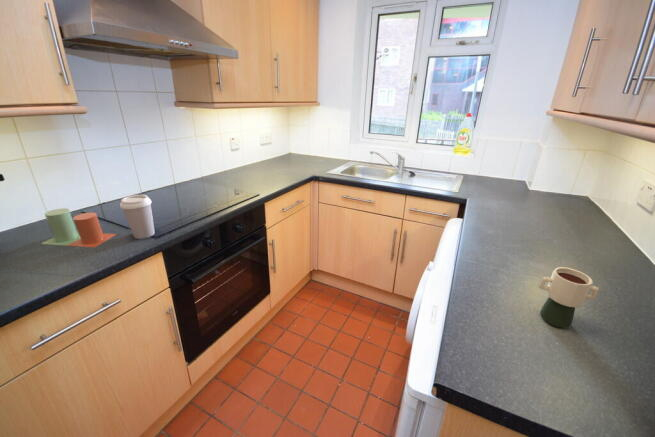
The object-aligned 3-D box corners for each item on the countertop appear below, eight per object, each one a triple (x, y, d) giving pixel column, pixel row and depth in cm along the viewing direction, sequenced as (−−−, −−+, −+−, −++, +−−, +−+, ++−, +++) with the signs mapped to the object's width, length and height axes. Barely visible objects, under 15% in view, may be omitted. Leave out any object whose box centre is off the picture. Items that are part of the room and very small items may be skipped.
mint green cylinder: (74, 240, 103) (64, 214, 99) (51, 243, 101) (40, 216, 97) (81, 232, 109) (72, 207, 105) (60, 235, 107) (50, 209, 103)
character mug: (576, 316, 73) (596, 272, 68) (587, 337, 67) (610, 290, 62) (525, 305, 77) (540, 262, 72) (531, 323, 71) (548, 278, 66)
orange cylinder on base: (94, 244, 101) (85, 220, 97) (76, 243, 102) (67, 219, 98) (108, 235, 107) (101, 213, 103) (92, 234, 107) (84, 212, 104)
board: (95, 249, 100) (94, 247, 99) (41, 246, 101) (40, 243, 101) (117, 236, 109) (116, 234, 108) (67, 233, 110) (66, 230, 110)
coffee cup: (165, 233, 111) (156, 195, 105) (143, 245, 103) (132, 204, 97) (146, 229, 114) (137, 192, 108) (123, 240, 106) (111, 200, 100)
